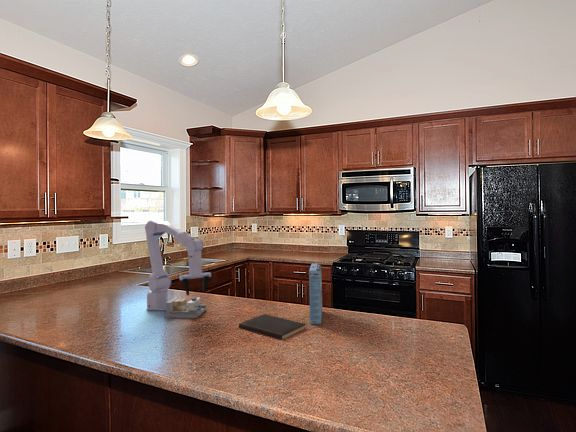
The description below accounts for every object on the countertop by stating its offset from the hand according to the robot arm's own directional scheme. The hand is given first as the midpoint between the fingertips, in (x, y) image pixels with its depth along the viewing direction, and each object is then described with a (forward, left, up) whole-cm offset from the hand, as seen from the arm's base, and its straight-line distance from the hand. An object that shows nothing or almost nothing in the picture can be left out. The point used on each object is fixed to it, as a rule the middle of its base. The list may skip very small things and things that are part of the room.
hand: (195, 293), depth 164 cm
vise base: (-6, 0, -10) cm, 11 cm away
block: (-8, 0, -8) cm, 11 cm away
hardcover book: (+39, -17, -10) cm, 43 cm away
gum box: (+56, -2, -10) cm, 57 cm away
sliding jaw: (-1, 0, -8) cm, 8 cm away
